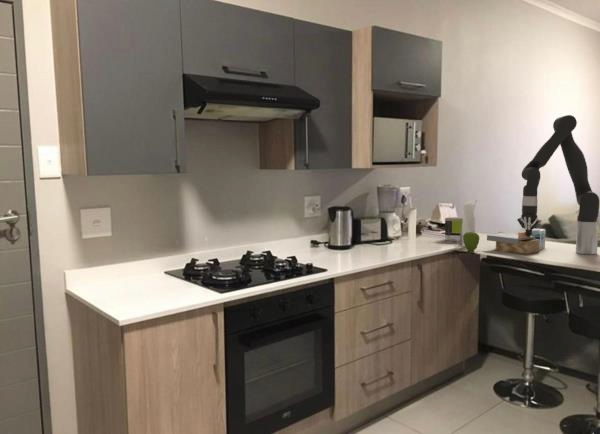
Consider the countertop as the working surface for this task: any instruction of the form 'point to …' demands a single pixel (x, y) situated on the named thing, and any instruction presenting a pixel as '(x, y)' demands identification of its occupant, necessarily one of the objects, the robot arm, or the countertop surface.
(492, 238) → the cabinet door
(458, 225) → the tea box
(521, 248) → the wooden box
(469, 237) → the green faceted ovoid
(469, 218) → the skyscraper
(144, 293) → the countertop surface
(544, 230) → the light bulb box
